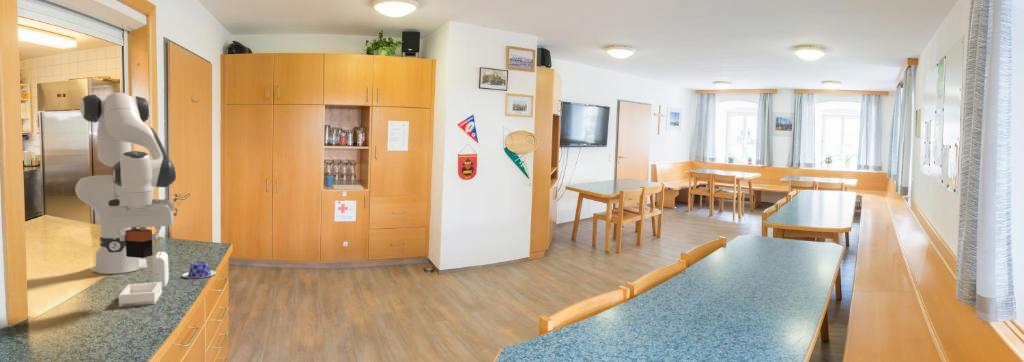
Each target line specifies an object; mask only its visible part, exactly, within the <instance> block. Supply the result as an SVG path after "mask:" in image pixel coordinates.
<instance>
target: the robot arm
mask: <svg viewBox="0 0 1024 362" xmlns="http://www.w3.org/2000/svg"><path fill="white" fill-rule="evenodd" d="M79 111H80V114H81V115H82V117H83V119H84V120H85V121H87V122H90V123H98V124H97V130H96V131H97V133H96V145H97V146H96V147H97V160H98V161H99V162H101V164H104V165H105V166H107V167H110V168H112V170H113V171H112V172H113V173H112V174H109V175H107V174H105V175H104V174H102V175H101V174H99V175H90V176H85V177H81V178H80V179H79V180H78V181H77V183H76V185H75V188H74V189H75V190H74V191H75V195H76V196H77V198H78V199H79V200H80V201H81V202H84V203H85V204H87V205H88V206H90V207H91V208H92V209H93V211H94V212H95V214H97V217H98V219H99V226H100V234H101V235H100V238H99V246H100V247H99V248H98V249H97V250H96V252H95V267H93V268H91V269H90V272H91V273H97V274H103V275H111V274H114V275H115V274H123V273H124V274H125V273H129V272H134V271H139V270H143V269H147V267H148V265H147V259H146V258H136V257H127V256H126V235H125V231H126V230H131V228H132V227H137V228H141V227H146V228H148V227H149V228H150V227H154V228H155V230H156V231H155V233H152V241H153V240H158V234H159V233H160V231H161V229H162V227H170V226H172V225H173V223H174V215H173V211H174V202H173V201H172V200H169V198H164V199H157V198H156V199H155V198H154V192H155V187H156V188H167V187H169V186H171V185H172V184H173V183H174V182H175V181H176V178H177V171H176V168H175V165H174V163H173V162H172V160H171V158H170V157H169V155H168V154H167V151H166V149H165V148H164V146H163V143H162V142H161V140H160V137H159V136H158V134H157V132H156V131H155V129H154V128H153V127H151V126H149V125H147V124H146V123H145V122H146V121H148V120H149V118H150V116H151V115H150V114H151V106H150V104H149V101H148V100H147V99H146V98H145V97H141V96H131V95H130V94H128V93H125V92H121V91H120V92H113V93H110V94H100V95H99V94H98V95H96V94H88V95H84V97H83V98H82V100H81V102H80V105H79ZM132 144H133V145H134V144H135V145H138V146H141V147H144V148H146V149H147V150H148V152H149V153H147V152H145V151H140V150H139V151H138V150H137V151H136V150H134V151H133V150H132ZM149 154H150V155H149ZM150 156H151V157H150ZM151 158H152V159H151Z"/></svg>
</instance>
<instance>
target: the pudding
mask: <svg viewBox="0 0 1024 362" xmlns="http://www.w3.org/2000/svg"><path fill="white" fill-rule="evenodd" d="M216 274H217V271H215V270H211V269H210V266H209V264H208V262H207V261H195V262H192V263H191V264H190V266H189V270H188V272H185V273H183V274H182V275H181V276H182V278H186V279H202V278H208V277H211V276H214V275H216Z"/></svg>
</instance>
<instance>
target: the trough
mask: <svg viewBox="0 0 1024 362" xmlns="http://www.w3.org/2000/svg"><path fill="white" fill-rule="evenodd" d="M162 294H163V288H162V282H155V283H153V282H144V283H143V282H142V283H131V284H130V283H129V284H127V285H126V286H125V287H124V289H122V291H120V293H119V294H118V307H119V308H122V307H136V306H146V305H147V306H148V305H155V304H156V303H157V301H158V300H159V298H160V297H161V295H162Z"/></svg>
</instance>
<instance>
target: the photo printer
mask: <svg viewBox="0 0 1024 362" xmlns="http://www.w3.org/2000/svg"><path fill="white" fill-rule="evenodd" d="M169 275H170V274H169V255H168V253H167V252H165V251H158V252H156V253H155V254H154V256H153V258H152V283H155V282H162V289H163V288H165V287H166V286H167V284H169V283H168V282H169V280H170V279H169V278H170V276H169Z"/></svg>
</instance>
